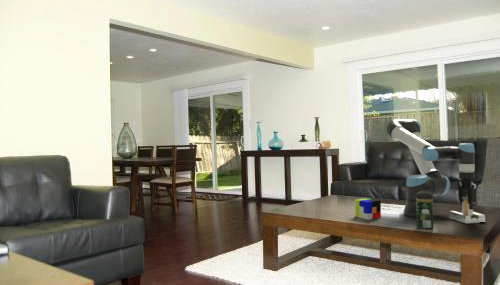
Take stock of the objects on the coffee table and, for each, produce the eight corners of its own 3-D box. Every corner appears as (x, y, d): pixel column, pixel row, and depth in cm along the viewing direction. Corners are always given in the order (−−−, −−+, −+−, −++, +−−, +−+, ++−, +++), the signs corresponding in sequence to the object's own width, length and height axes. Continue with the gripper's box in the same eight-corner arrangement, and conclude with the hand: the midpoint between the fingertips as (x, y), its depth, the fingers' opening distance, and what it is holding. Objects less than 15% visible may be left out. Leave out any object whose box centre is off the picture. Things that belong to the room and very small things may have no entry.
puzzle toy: (367, 219, 222) (367, 202, 222) (355, 216, 231) (355, 199, 231) (380, 217, 227) (380, 200, 226) (368, 214, 235) (368, 198, 235)
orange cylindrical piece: (466, 218, 212) (466, 197, 212) (461, 216, 216) (460, 196, 216) (474, 217, 212) (473, 197, 212) (468, 216, 217) (468, 196, 217)
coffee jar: (416, 224, 208) (416, 189, 208) (433, 225, 205) (432, 190, 205) (416, 228, 199) (416, 192, 199) (433, 229, 196) (433, 192, 196)
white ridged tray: (465, 223, 208) (465, 215, 208) (449, 218, 222) (449, 210, 222) (485, 222, 209) (485, 215, 209) (467, 217, 223) (467, 210, 223)
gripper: (483, 172, 206) (484, 217, 206) (463, 170, 223) (463, 211, 223) (470, 173, 205) (471, 217, 206) (450, 170, 222) (451, 212, 222)
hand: (467, 214), depth 214 cm, fingers closed on orange cylindrical piece, 3 cm apart
